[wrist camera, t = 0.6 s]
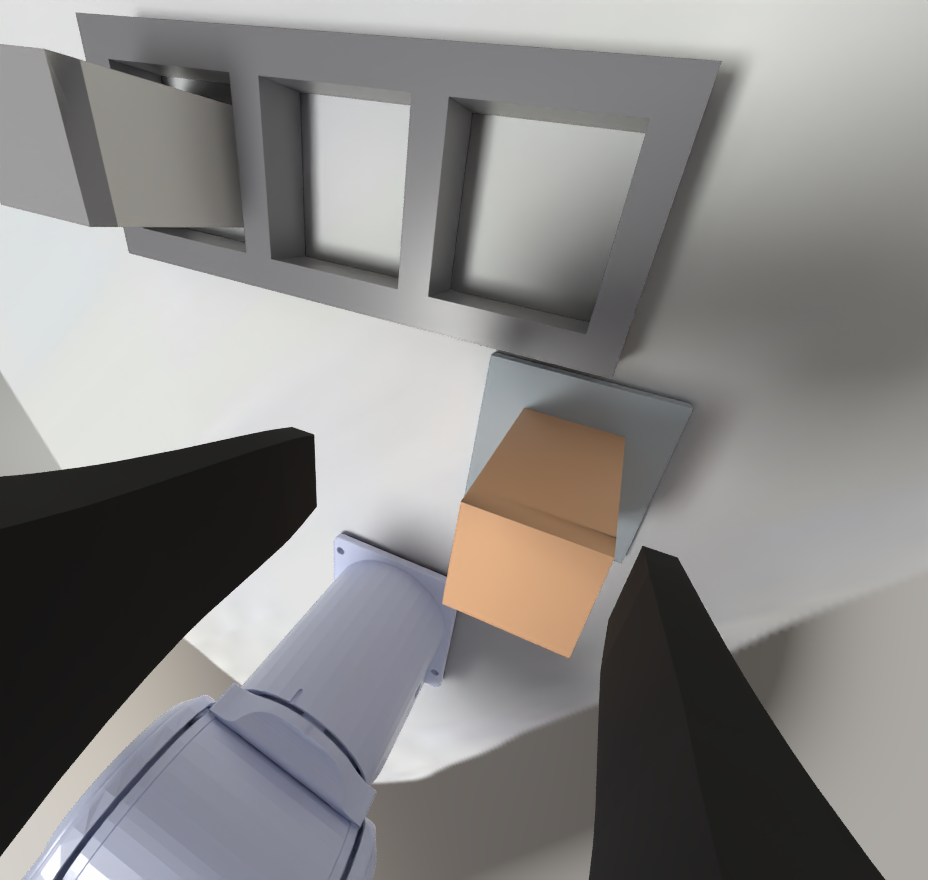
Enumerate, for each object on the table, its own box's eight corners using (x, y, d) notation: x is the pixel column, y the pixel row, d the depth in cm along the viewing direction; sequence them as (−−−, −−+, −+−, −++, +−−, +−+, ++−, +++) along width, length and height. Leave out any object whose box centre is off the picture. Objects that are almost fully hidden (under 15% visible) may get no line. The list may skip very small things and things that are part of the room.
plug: (593, 518, 18) (569, 658, 12) (504, 487, 19) (441, 603, 13) (625, 437, 16) (614, 557, 10) (524, 407, 17) (460, 502, 11)
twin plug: (266, 227, 18) (89, 226, 12) (196, 212, 19) (1, 204, 13) (258, 113, 16) (44, 48, 11) (180, 102, 17) (-56, 38, 11)
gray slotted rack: (615, 363, 15) (612, 379, 14) (170, 251, 21) (129, 252, 19) (710, 85, 12) (721, 61, 10) (131, 33, 17) (75, 12, 15)
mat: (622, 556, 19) (621, 563, 18) (466, 499, 21) (462, 505, 20) (691, 404, 15) (693, 409, 15) (494, 352, 17) (490, 355, 17)
